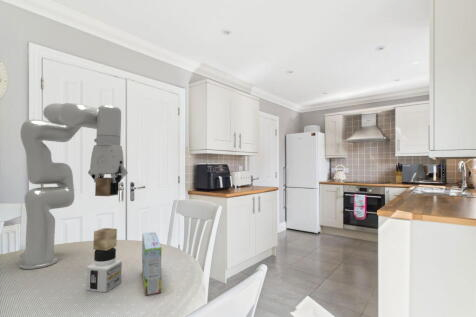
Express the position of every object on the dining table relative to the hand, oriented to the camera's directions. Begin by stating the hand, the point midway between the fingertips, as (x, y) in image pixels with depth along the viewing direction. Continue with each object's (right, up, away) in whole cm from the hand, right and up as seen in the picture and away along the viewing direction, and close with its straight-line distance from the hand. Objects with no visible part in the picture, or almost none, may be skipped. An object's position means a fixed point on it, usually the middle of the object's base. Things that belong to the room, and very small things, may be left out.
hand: (107, 193), depth 88 cm
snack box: (+14, -32, +3) cm, 35 cm away
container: (0, -32, -1) cm, 32 cm away
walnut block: (0, -1, 0) cm, 1 cm away
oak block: (0, -19, -1) cm, 19 cm away
